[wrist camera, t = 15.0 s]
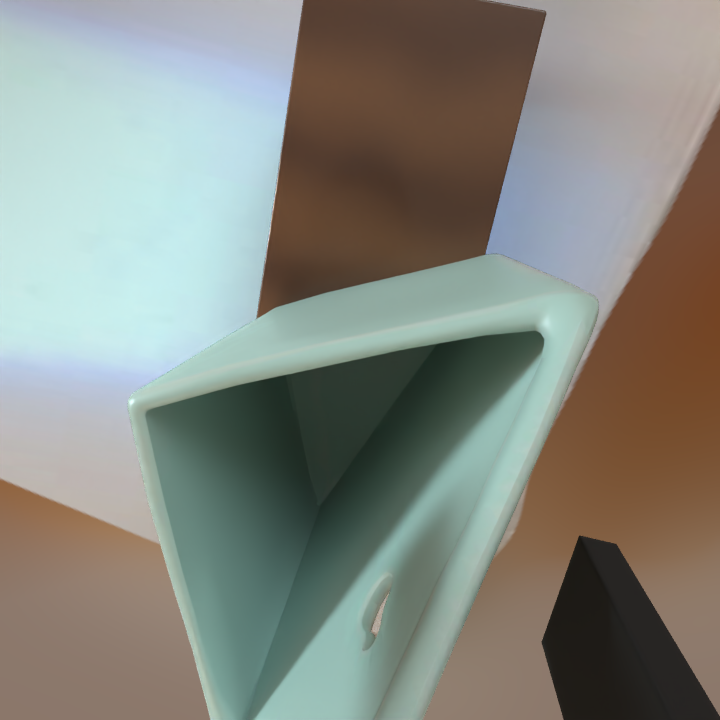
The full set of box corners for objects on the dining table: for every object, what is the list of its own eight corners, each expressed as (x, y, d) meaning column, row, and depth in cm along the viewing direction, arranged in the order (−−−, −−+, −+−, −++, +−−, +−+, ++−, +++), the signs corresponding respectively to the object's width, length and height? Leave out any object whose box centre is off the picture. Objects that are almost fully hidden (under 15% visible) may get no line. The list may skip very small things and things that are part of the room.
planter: (364, 159, 24) (146, -72, 5) (510, 259, 24) (822, 397, 5) (193, 438, 28) (-268, 880, 9) (320, 520, 29) (123, 1103, 10)
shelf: (341, 43, 32) (307, -33, 22) (508, 74, 32) (547, 10, 22) (275, 440, 39) (227, 512, 29) (411, 472, 38) (408, 556, 29)
